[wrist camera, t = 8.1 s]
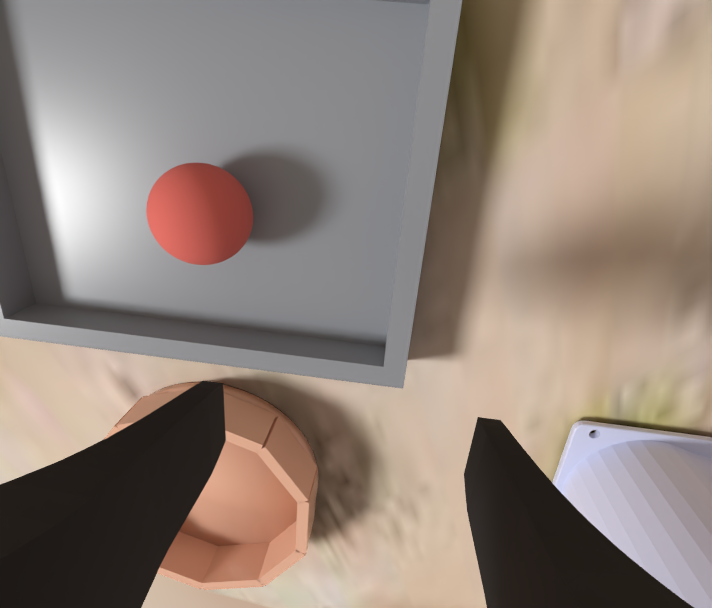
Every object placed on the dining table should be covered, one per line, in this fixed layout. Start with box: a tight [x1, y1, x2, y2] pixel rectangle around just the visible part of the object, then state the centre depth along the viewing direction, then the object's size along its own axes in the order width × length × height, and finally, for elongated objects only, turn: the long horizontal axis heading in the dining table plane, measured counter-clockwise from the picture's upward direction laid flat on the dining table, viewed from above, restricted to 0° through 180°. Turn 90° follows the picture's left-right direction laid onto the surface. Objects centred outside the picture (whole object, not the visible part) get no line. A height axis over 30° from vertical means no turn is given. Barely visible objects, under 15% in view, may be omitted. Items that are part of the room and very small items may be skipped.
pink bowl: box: [104, 382, 319, 590], centre depth 24 cm, size 12×13×3 cm
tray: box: [0, 0, 462, 388], centre depth 18 cm, size 20×16×2 cm
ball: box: [146, 163, 253, 265], centre depth 17 cm, size 4×4×4 cm
